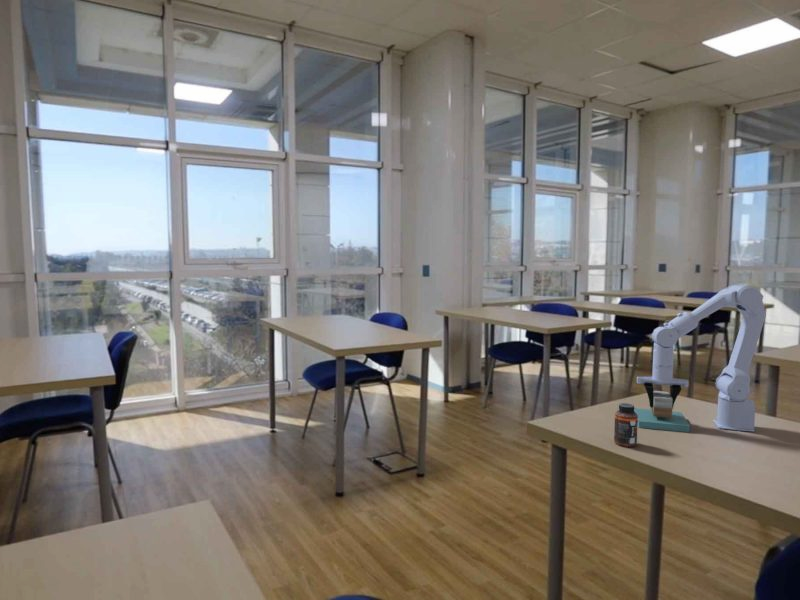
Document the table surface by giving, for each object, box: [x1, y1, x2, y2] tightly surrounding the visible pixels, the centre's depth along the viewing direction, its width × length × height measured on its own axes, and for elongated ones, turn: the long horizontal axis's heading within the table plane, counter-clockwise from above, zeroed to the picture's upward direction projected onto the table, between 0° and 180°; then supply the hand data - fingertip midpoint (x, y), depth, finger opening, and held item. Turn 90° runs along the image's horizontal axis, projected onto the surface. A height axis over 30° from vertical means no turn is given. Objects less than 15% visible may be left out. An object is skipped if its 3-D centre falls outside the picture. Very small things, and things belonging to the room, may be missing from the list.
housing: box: [650, 390, 673, 418], centre depth 164 cm, size 8×5×6 cm, turn 161°
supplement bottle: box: [613, 402, 638, 448], centre depth 147 cm, size 6×6×11 cm
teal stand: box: [634, 407, 691, 433], centre depth 165 cm, size 14×14×2 cm
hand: (661, 407), depth 164 cm, fingers closed on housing, 5 cm apart
